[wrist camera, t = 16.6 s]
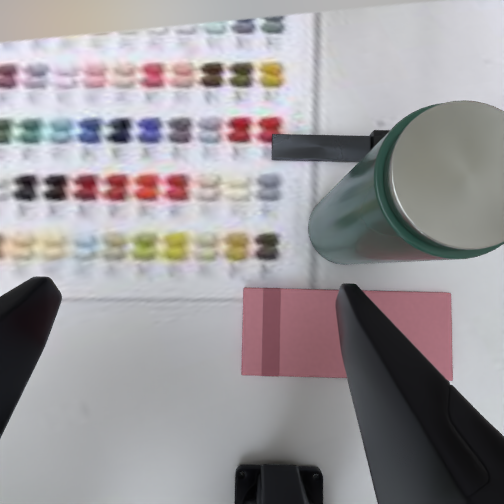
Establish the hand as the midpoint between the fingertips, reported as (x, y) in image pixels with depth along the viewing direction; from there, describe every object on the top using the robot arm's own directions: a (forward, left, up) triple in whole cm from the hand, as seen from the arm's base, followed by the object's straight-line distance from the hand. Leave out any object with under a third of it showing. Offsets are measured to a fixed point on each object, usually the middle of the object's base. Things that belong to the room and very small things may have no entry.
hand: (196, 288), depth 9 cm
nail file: (+11, -9, -14) cm, 19 cm away
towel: (-4, -9, -14) cm, 17 cm away
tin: (+4, -9, -14) cm, 17 cm away
